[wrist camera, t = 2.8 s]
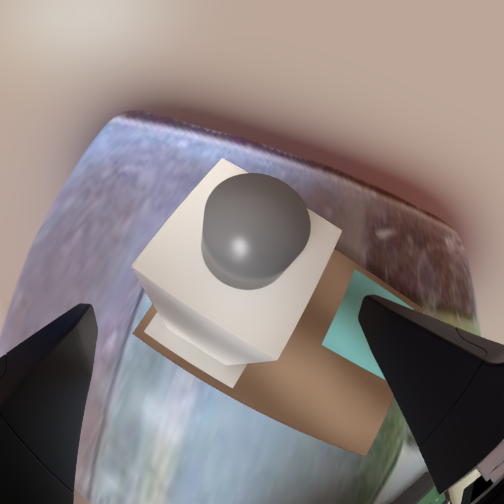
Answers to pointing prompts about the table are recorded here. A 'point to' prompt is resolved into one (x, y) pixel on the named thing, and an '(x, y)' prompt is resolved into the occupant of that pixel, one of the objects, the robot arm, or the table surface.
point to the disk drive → (423, 493)
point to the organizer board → (306, 363)
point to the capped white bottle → (236, 265)
